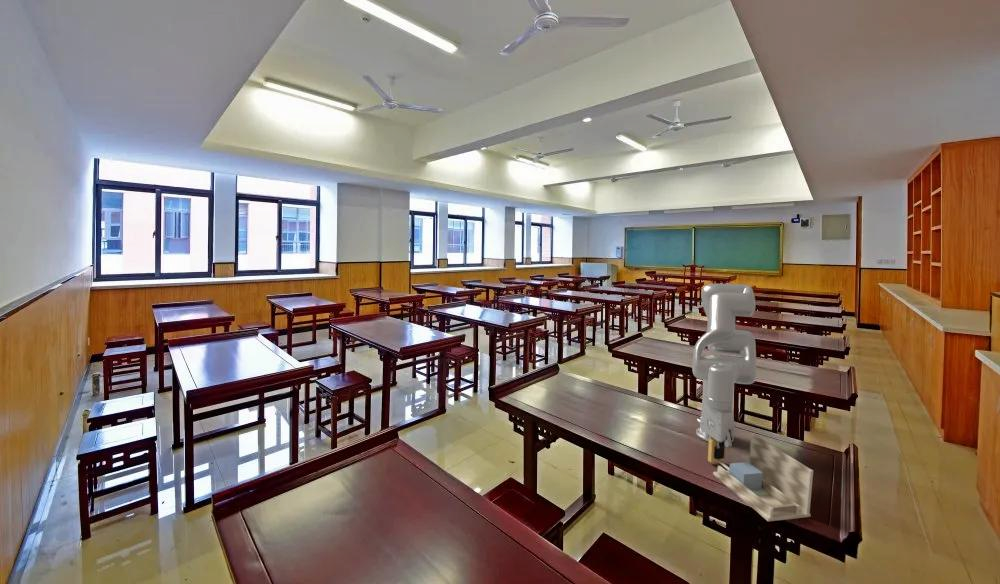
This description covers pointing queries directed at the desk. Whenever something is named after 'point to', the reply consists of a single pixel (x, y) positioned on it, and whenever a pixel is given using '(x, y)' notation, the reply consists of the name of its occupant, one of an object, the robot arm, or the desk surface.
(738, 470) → the toy blocks
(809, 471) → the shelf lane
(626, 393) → the desk surface
